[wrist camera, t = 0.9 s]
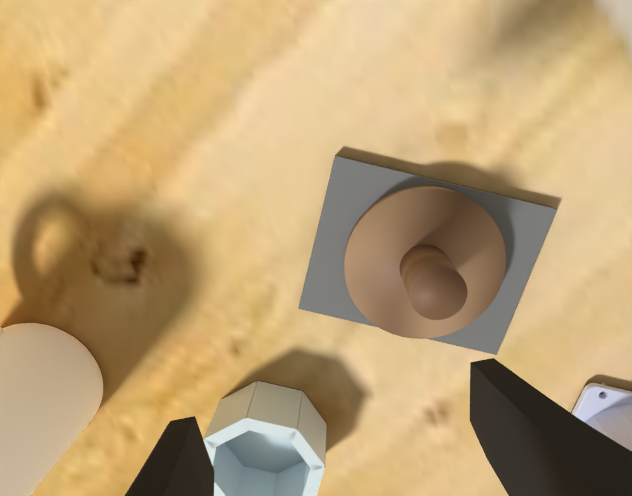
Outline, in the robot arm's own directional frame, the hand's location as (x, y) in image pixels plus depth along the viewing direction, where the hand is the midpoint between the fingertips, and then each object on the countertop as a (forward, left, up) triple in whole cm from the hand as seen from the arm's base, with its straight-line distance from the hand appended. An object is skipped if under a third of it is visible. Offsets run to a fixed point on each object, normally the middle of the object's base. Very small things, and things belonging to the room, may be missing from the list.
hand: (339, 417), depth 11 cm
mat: (-5, -1, -14) cm, 15 cm away
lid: (-5, -1, -13) cm, 14 cm away
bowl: (+2, +13, -14) cm, 19 cm away
